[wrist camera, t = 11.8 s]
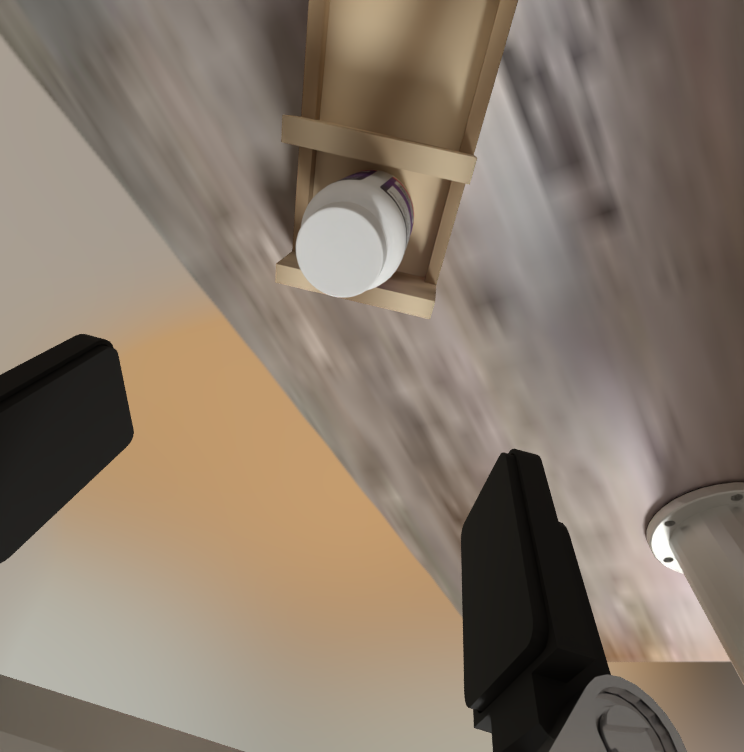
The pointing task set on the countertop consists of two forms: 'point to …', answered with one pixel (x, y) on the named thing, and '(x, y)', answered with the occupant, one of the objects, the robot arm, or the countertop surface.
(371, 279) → the pill bottle
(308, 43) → the rack
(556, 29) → the countertop surface
